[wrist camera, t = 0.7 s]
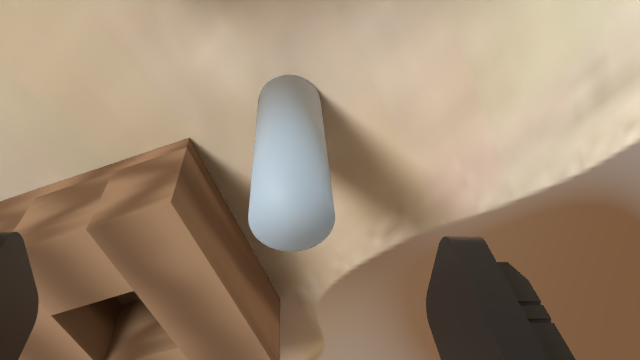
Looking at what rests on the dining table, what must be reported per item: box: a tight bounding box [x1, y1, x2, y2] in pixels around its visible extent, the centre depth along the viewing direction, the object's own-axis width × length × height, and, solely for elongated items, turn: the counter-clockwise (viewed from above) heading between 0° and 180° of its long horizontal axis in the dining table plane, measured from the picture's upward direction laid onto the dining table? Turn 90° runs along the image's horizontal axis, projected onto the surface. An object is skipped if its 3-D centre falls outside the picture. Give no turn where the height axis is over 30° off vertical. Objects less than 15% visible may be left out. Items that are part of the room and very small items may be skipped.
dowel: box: [248, 75, 335, 252], centre depth 25 cm, size 3×3×10 cm
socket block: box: [0, 138, 280, 360], centre depth 33 cm, size 14×14×6 cm
